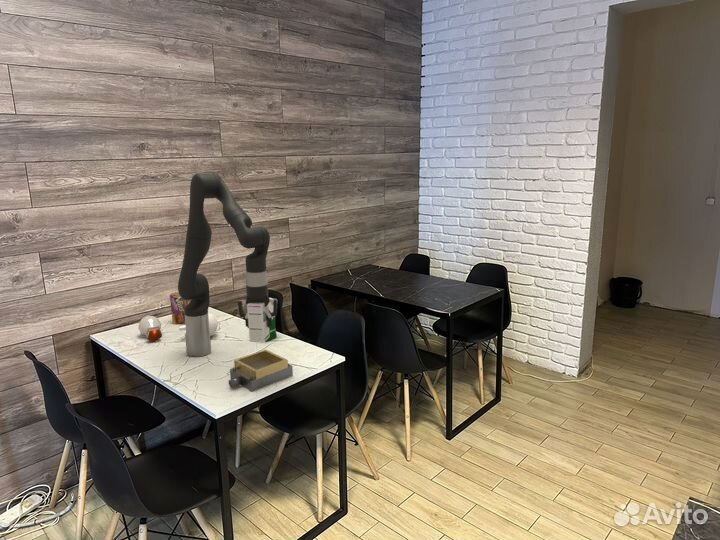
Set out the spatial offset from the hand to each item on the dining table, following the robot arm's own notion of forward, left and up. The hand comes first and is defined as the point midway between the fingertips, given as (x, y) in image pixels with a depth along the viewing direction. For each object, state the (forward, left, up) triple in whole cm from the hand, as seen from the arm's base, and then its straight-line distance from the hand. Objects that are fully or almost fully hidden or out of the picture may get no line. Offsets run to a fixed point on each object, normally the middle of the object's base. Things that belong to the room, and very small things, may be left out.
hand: (259, 327), depth 182 cm
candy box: (-44, +64, -20) cm, 80 cm away
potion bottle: (-53, +46, -20) cm, 73 cm away
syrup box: (0, 0, -5) cm, 5 cm away
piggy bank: (-31, +45, -20) cm, 59 cm away
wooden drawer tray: (-1, -1, -20) cm, 20 cm away
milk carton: (-2, +40, -20) cm, 45 cm away
